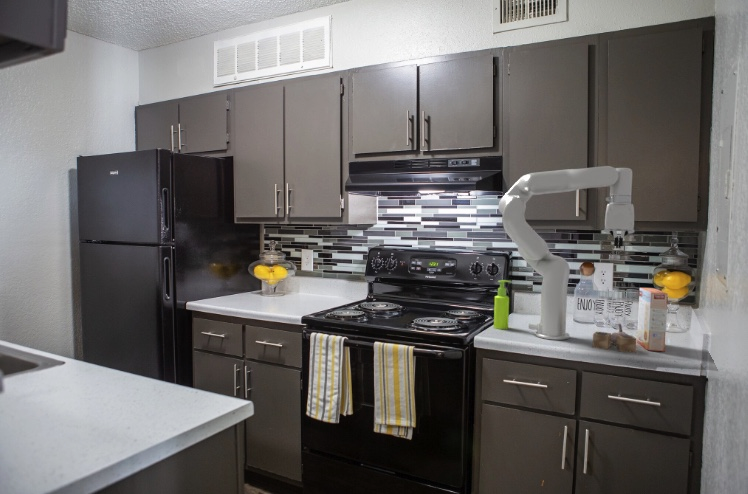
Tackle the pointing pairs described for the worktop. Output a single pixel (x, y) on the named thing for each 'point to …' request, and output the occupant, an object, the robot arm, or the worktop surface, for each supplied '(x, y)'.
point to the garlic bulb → (614, 335)
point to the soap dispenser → (501, 307)
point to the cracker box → (652, 319)
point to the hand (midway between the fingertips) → (618, 247)
